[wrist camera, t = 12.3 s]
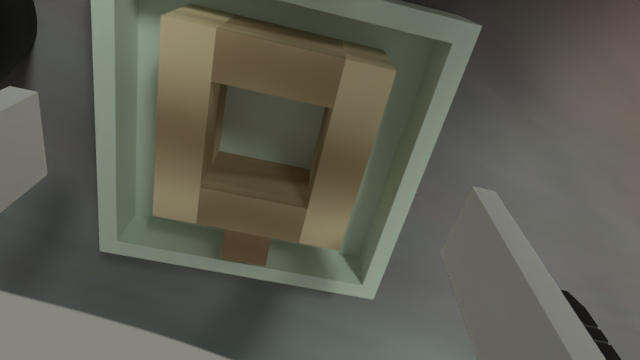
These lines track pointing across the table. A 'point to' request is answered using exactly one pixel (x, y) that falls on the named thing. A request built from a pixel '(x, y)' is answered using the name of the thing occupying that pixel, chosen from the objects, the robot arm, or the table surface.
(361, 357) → the table surface
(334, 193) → the wooden rectangular frame
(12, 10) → the mug
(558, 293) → the robot arm
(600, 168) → the table surface
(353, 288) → the tray
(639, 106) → the table surface
